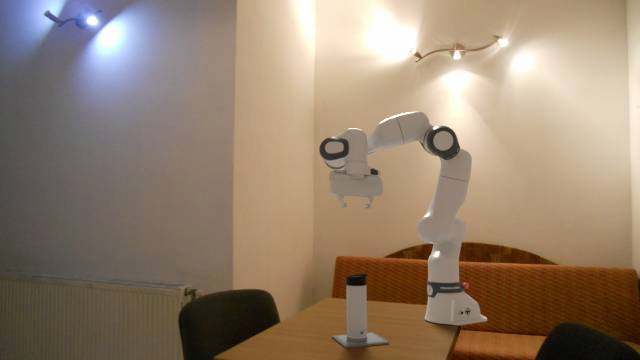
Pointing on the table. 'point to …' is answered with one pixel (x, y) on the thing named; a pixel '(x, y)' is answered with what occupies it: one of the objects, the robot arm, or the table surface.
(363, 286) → the travel mug
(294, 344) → the table surface
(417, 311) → the table surface
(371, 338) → the felt pad
